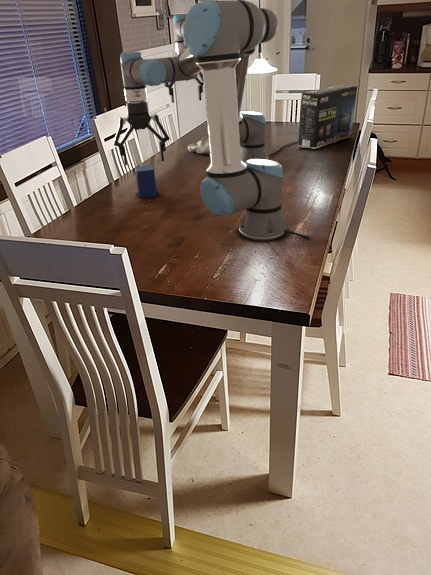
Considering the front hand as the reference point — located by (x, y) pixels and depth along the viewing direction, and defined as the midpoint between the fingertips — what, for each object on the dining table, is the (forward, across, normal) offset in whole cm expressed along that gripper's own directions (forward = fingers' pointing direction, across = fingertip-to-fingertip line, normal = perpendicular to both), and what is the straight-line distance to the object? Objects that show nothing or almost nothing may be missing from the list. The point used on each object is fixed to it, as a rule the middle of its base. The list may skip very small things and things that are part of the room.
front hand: (144, 162), depth 170 cm
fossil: (+14, +38, +64) cm, 76 cm away
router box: (+15, +102, +55) cm, 117 cm away
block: (+15, 0, +8) cm, 17 cm away
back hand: (-11, +30, +64) cm, 71 cm away
